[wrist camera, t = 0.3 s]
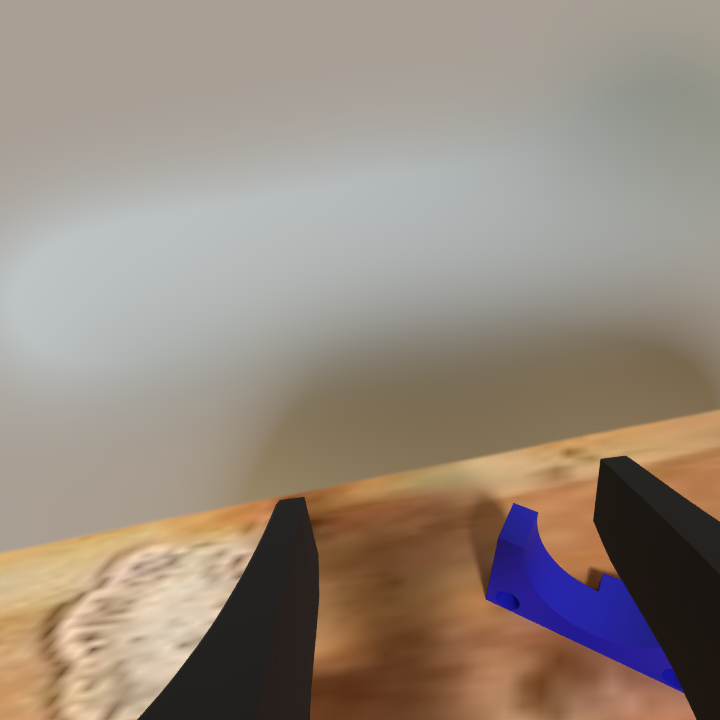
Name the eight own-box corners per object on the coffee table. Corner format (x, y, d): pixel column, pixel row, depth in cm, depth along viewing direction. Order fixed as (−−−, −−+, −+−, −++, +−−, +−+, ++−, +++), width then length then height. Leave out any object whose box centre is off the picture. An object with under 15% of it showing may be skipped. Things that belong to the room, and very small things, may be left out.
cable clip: (702, 633, 32) (740, 569, 29) (700, 702, 29) (742, 639, 26) (506, 549, 37) (520, 487, 34) (485, 600, 34) (498, 537, 31)
